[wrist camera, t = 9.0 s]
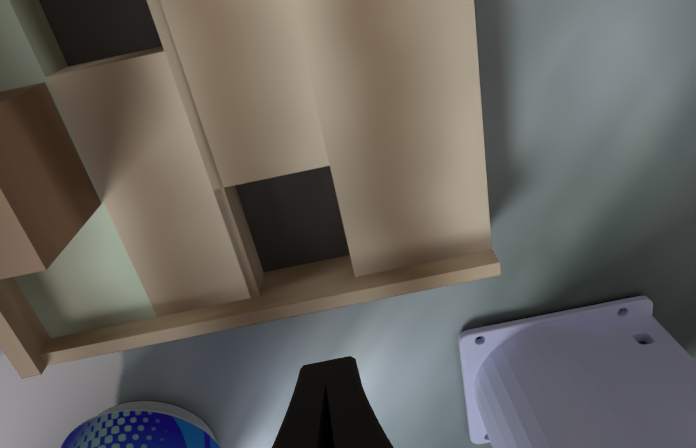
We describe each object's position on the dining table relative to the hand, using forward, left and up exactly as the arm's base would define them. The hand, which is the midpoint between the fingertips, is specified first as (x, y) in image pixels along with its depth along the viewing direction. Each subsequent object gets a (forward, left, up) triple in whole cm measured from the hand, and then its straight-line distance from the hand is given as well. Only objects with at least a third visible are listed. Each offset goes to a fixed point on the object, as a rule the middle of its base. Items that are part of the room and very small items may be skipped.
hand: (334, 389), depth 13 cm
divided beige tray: (+3, -6, -10) cm, 12 cm away
